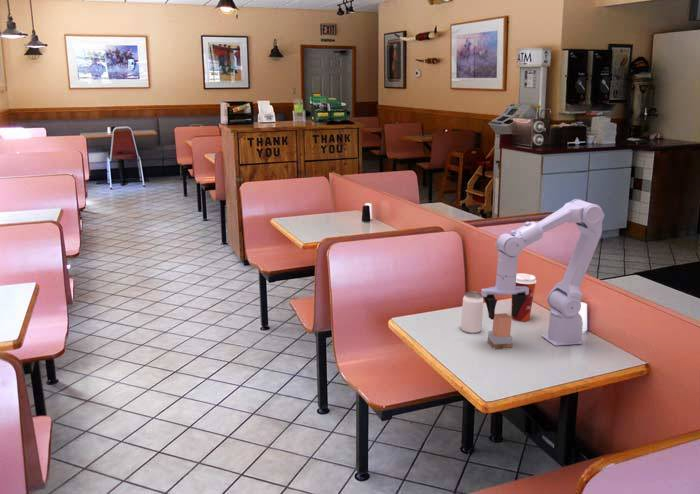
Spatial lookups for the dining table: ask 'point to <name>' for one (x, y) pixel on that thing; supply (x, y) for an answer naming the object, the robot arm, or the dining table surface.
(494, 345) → the tower lower
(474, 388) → the dining table surface
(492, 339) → the tower upper
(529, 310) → the coffee cup
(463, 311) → the can
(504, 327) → the brick block
